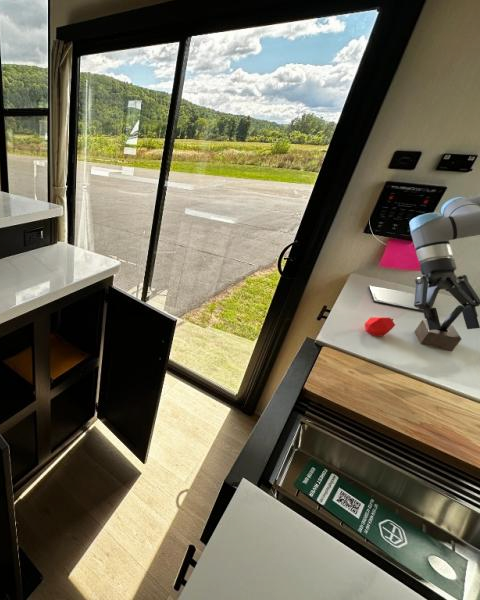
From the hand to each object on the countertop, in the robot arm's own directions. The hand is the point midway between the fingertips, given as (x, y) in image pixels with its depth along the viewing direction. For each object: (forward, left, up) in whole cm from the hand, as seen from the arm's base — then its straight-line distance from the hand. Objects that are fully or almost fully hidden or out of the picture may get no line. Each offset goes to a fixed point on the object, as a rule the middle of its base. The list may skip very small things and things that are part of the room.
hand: (454, 329), depth 97 cm
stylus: (+1, -2, -7) cm, 8 cm away
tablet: (+5, -28, -7) cm, 30 cm away
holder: (+1, -2, -7) cm, 8 cm away
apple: (+16, +1, -7) cm, 18 cm away
